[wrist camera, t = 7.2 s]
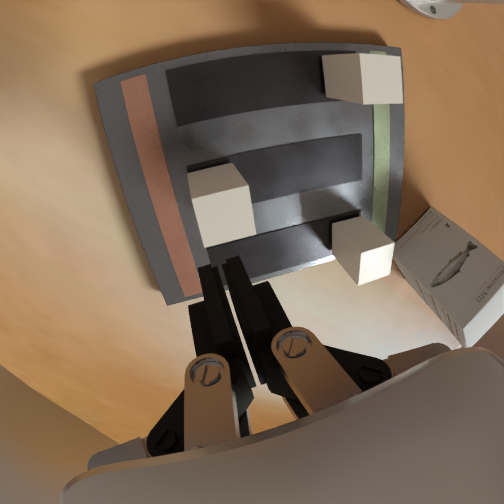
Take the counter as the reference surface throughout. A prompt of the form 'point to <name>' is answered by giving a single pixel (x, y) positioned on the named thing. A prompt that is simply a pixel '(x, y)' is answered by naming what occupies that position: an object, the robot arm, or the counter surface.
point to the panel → (251, 156)
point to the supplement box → (452, 275)
